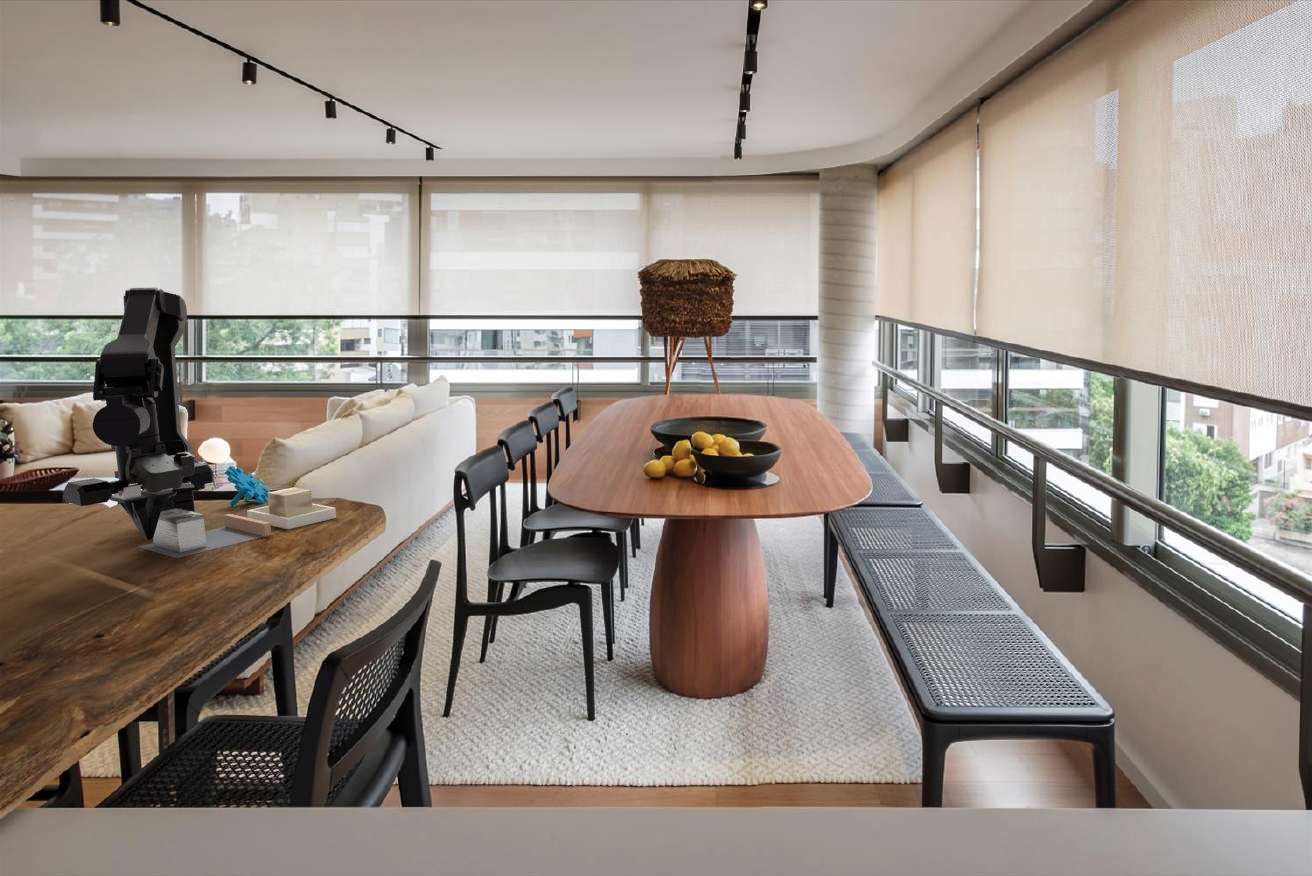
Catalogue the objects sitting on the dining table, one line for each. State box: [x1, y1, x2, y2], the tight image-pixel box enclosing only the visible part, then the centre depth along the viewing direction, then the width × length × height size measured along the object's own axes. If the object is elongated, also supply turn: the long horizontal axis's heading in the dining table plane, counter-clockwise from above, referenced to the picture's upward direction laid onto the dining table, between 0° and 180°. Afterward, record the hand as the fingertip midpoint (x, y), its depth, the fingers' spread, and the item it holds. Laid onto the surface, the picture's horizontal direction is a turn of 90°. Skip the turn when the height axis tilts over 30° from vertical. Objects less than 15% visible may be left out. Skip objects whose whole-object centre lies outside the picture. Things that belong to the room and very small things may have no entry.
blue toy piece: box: [224, 465, 271, 507], centre depth 168 cm, size 11×6×10 cm
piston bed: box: [137, 513, 272, 559], centre depth 139 cm, size 12×15×3 cm
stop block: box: [268, 486, 313, 518], centre depth 152 cm, size 5×5×5 cm
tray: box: [246, 503, 337, 530], centre depth 152 cm, size 12×9×2 cm
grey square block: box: [152, 508, 207, 553], centre depth 136 cm, size 8×4×5 cm, turn 54°
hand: (148, 539), depth 132 cm, fingers closed
